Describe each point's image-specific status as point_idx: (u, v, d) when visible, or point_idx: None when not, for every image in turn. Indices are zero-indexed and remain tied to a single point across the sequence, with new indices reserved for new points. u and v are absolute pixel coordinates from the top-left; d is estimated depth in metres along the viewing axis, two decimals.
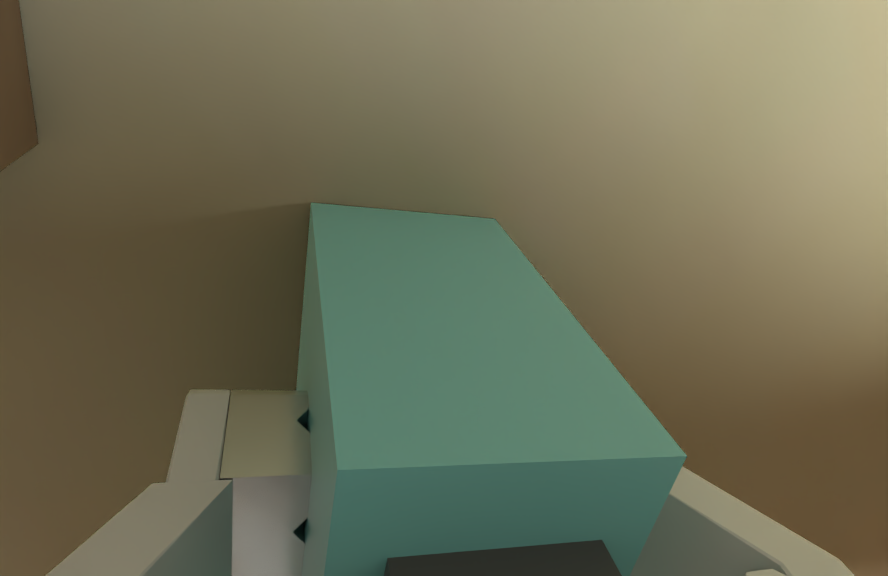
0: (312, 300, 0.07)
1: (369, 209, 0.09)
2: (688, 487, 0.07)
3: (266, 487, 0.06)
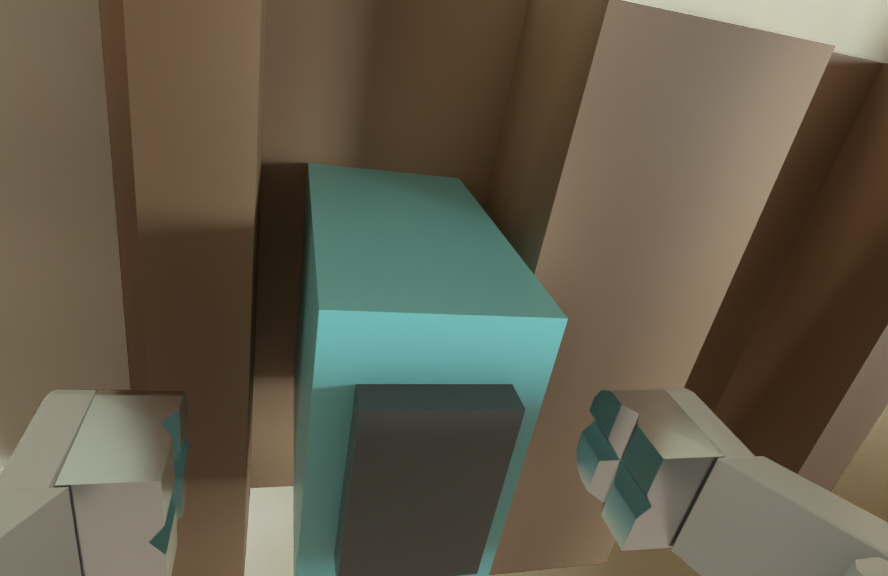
0: (308, 232, 0.10)
1: (355, 168, 0.11)
2: (784, 482, 0.07)
3: (111, 494, 0.06)
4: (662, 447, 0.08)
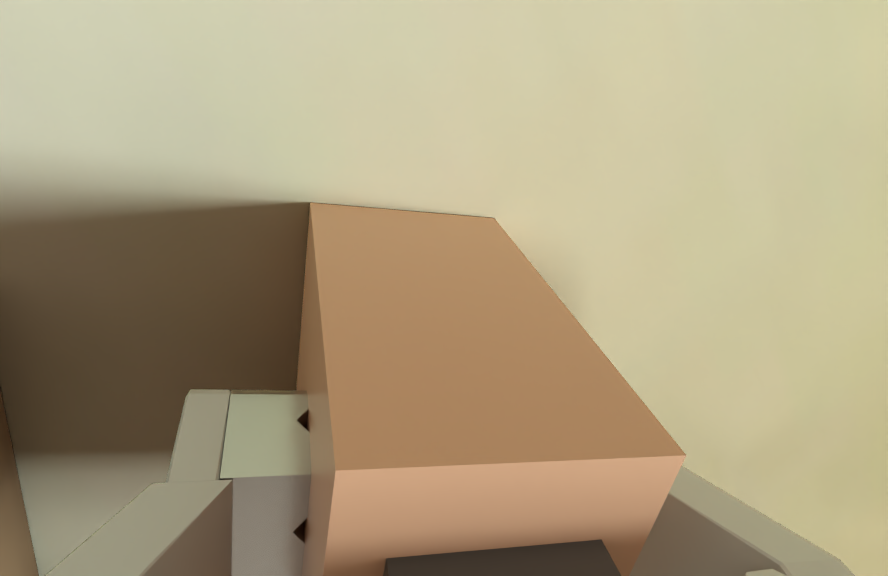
0: None
1: None
2: (688, 487, 0.07)
3: (266, 487, 0.06)
4: None
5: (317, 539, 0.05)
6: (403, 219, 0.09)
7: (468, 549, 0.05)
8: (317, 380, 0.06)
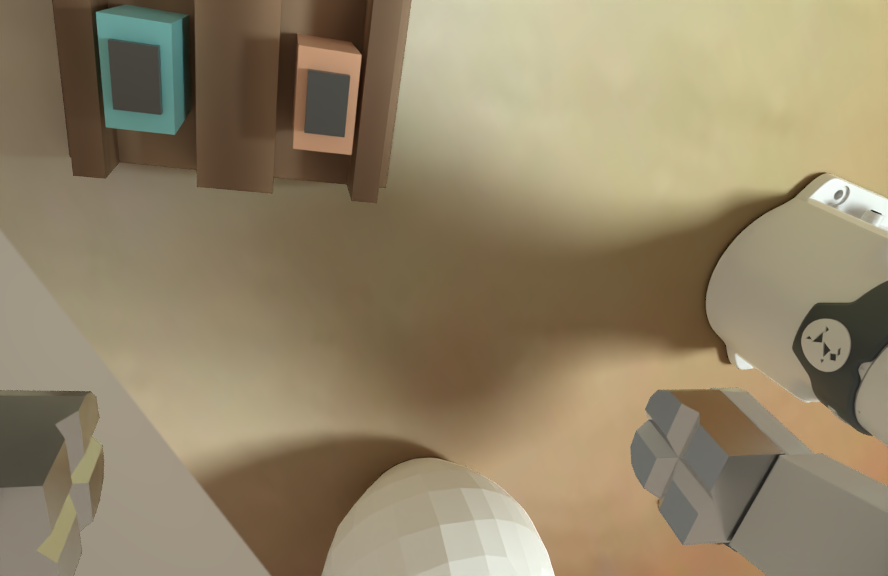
0: None
1: (144, 7, 0.30)
2: (846, 478, 0.08)
3: None
4: (726, 445, 0.08)
5: None
6: (322, 38, 0.32)
7: (323, 70, 0.28)
8: (297, 54, 0.30)
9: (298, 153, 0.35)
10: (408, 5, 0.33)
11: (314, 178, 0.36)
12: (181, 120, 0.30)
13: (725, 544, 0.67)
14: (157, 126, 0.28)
